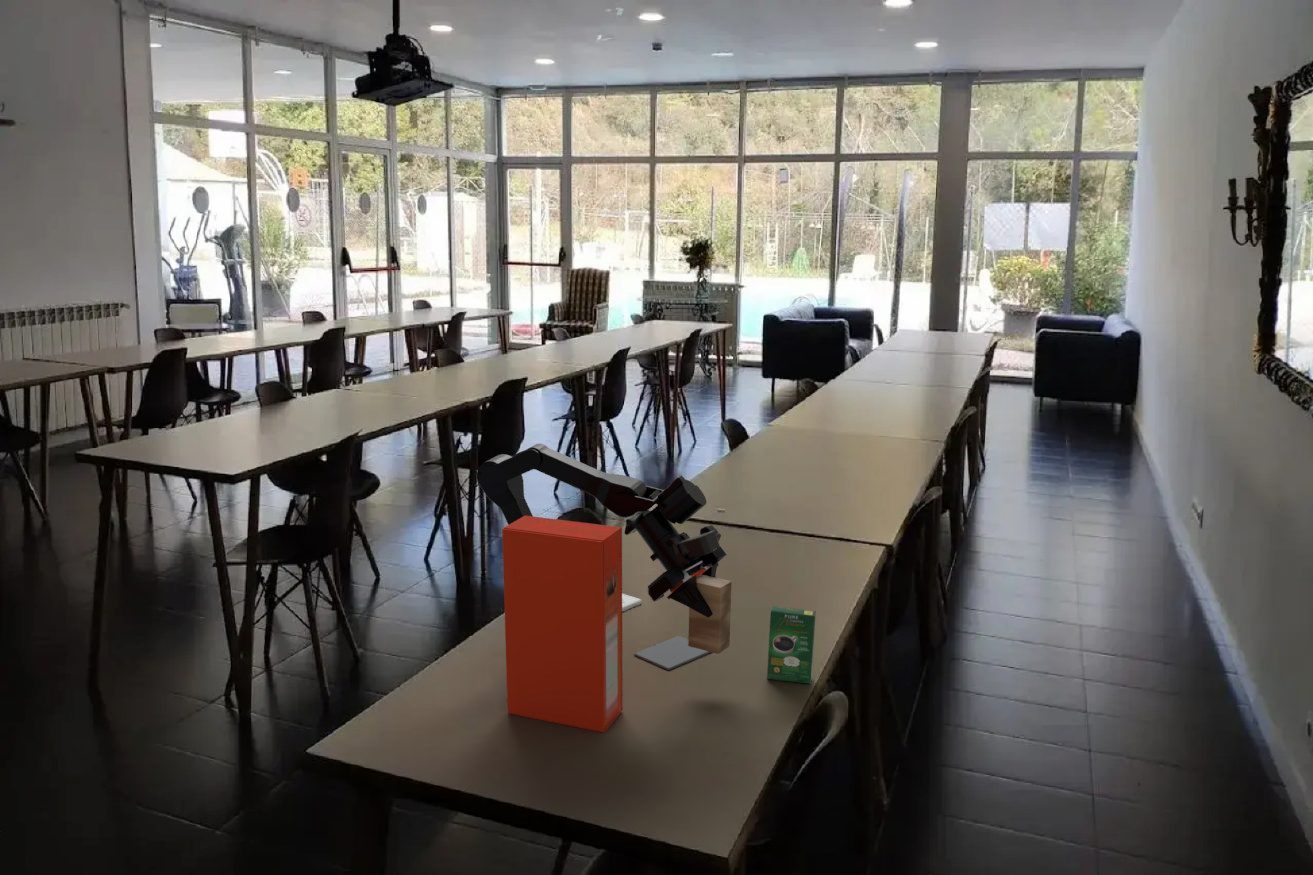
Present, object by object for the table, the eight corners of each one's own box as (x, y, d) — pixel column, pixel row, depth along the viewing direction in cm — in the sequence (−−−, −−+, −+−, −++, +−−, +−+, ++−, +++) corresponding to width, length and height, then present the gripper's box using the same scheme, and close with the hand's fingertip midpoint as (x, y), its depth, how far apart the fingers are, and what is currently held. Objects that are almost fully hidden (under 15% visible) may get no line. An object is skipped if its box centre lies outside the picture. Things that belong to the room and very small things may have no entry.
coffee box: (813, 678, 182) (816, 608, 179) (812, 685, 179) (815, 614, 177) (768, 673, 184) (770, 604, 181) (766, 680, 181) (768, 610, 178)
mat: (668, 670, 185) (668, 668, 185) (634, 655, 191) (634, 653, 191) (713, 651, 193) (713, 649, 193) (678, 637, 199) (678, 635, 199)
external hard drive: (573, 613, 213) (613, 596, 222) (601, 623, 208) (641, 606, 217) (573, 605, 212) (613, 589, 222) (601, 615, 207) (641, 598, 217)
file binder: (602, 734, 162) (601, 541, 155) (506, 714, 168) (502, 528, 161) (622, 711, 169) (622, 526, 162) (530, 694, 175) (526, 514, 168)
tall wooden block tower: (718, 654, 175) (720, 588, 173) (688, 646, 178) (689, 581, 176) (729, 646, 178) (731, 581, 176) (699, 638, 182) (701, 574, 179)
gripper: (664, 527, 168) (721, 604, 164) (718, 501, 183) (771, 572, 180) (623, 563, 173) (678, 639, 170) (679, 536, 189) (730, 604, 186)
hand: (716, 612), depth 176 cm, fingers closed on tall wooden block tower, 4 cm apart
